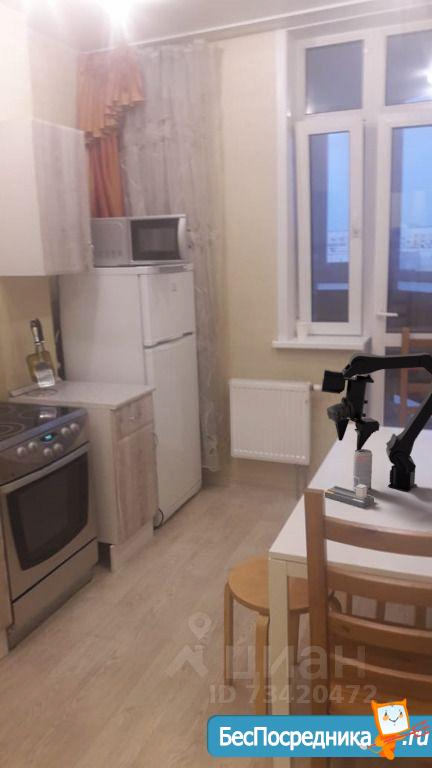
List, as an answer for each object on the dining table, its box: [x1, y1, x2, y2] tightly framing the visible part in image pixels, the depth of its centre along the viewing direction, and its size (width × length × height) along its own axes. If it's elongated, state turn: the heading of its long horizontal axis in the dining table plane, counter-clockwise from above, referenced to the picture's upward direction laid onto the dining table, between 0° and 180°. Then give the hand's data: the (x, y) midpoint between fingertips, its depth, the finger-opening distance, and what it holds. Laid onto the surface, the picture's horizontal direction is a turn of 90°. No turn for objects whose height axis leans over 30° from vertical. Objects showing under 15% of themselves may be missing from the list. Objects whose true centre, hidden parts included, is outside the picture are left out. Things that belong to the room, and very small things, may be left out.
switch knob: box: [356, 484, 368, 499], centre depth 174 cm, size 2×2×4 cm
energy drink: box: [352, 448, 373, 493], centre depth 183 cm, size 5×5×12 cm
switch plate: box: [324, 485, 375, 509], centre depth 177 cm, size 13×6×2 cm, turn 46°
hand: (349, 445), depth 185 cm, fingers open, 9 cm apart
